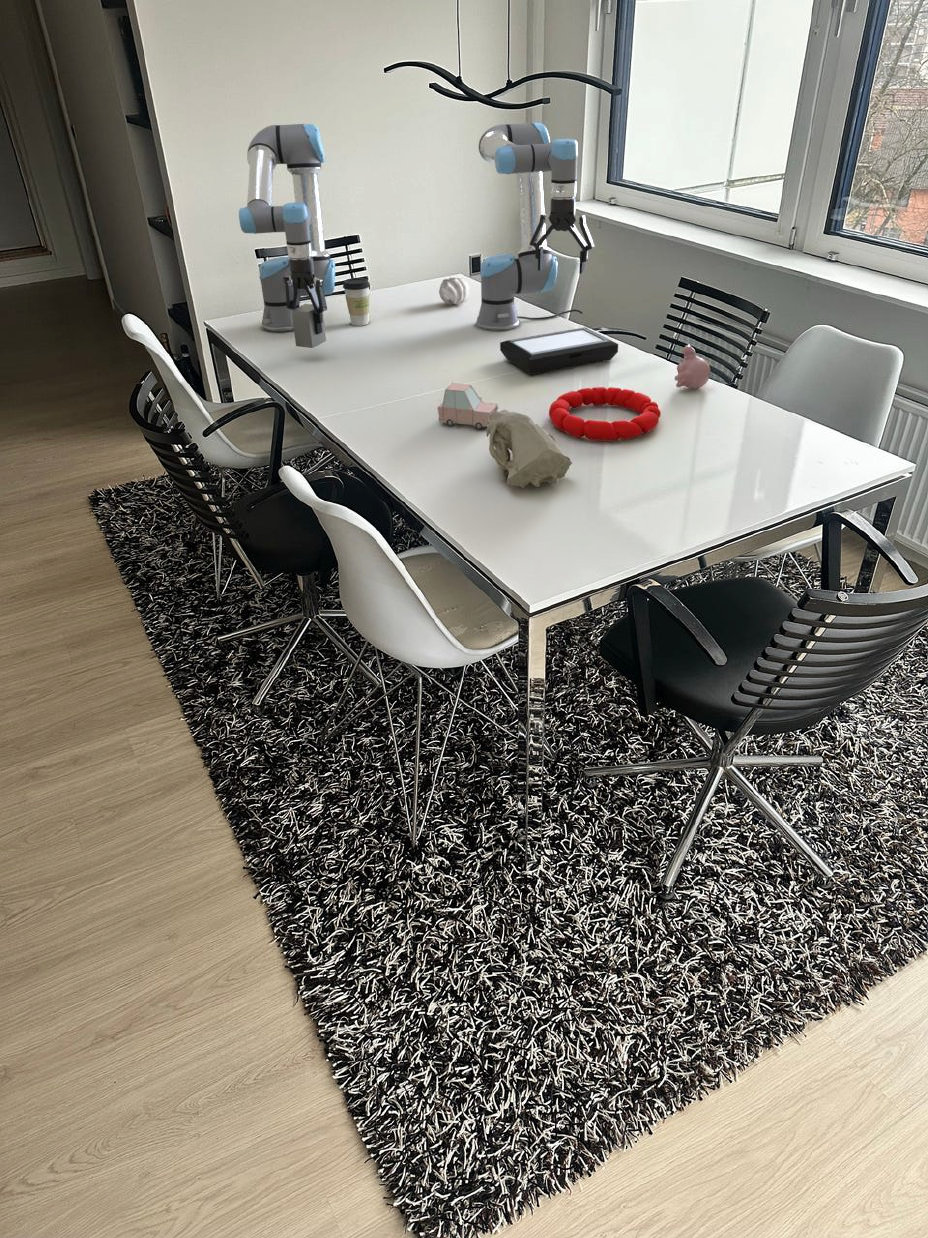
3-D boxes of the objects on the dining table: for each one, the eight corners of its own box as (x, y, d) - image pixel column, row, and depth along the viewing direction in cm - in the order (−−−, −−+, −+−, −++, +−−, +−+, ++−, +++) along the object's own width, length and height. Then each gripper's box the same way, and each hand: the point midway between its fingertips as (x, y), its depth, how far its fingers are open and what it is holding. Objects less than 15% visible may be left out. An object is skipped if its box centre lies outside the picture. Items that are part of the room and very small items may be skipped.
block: (295, 346, 291) (291, 310, 284) (309, 338, 297) (305, 303, 291) (312, 348, 288) (308, 311, 282) (326, 340, 295) (322, 305, 288)
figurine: (665, 387, 264) (669, 347, 257) (693, 380, 268) (698, 340, 261) (686, 396, 257) (690, 355, 250) (714, 388, 262) (720, 348, 255)
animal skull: (496, 517, 219) (521, 479, 201) (463, 429, 225) (484, 384, 207) (557, 503, 225) (586, 465, 206) (523, 417, 231) (549, 373, 212)
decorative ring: (589, 435, 224) (684, 402, 234) (527, 398, 247) (617, 369, 256) (589, 461, 229) (683, 427, 238) (529, 422, 251) (617, 393, 260)
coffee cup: (372, 326, 323) (368, 283, 314) (345, 327, 323) (340, 284, 315) (374, 318, 331) (371, 276, 322) (348, 319, 331) (344, 277, 323)
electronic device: (528, 357, 271) (500, 339, 286) (528, 377, 274) (500, 358, 289) (618, 341, 281) (586, 325, 296) (617, 360, 284) (585, 343, 300)
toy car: (488, 432, 240) (488, 396, 234) (436, 426, 244) (434, 390, 239) (499, 419, 247) (499, 384, 241) (448, 413, 252) (447, 379, 246)
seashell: (432, 303, 345) (431, 277, 340) (465, 297, 351) (465, 271, 345) (444, 310, 338) (443, 282, 332) (478, 303, 343) (478, 276, 338)
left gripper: (267, 258, 278) (278, 332, 291) (320, 262, 271) (329, 338, 284) (281, 253, 284) (291, 326, 297) (333, 256, 277) (341, 331, 290)
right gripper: (520, 197, 270) (519, 270, 282) (599, 201, 261) (595, 276, 273) (528, 193, 275) (527, 265, 287) (606, 196, 267) (602, 270, 279)
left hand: (309, 331), depth 291 cm, fingers closed on block, 6 cm apart
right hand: (560, 271), depth 280 cm, fingers open, 13 cm apart
